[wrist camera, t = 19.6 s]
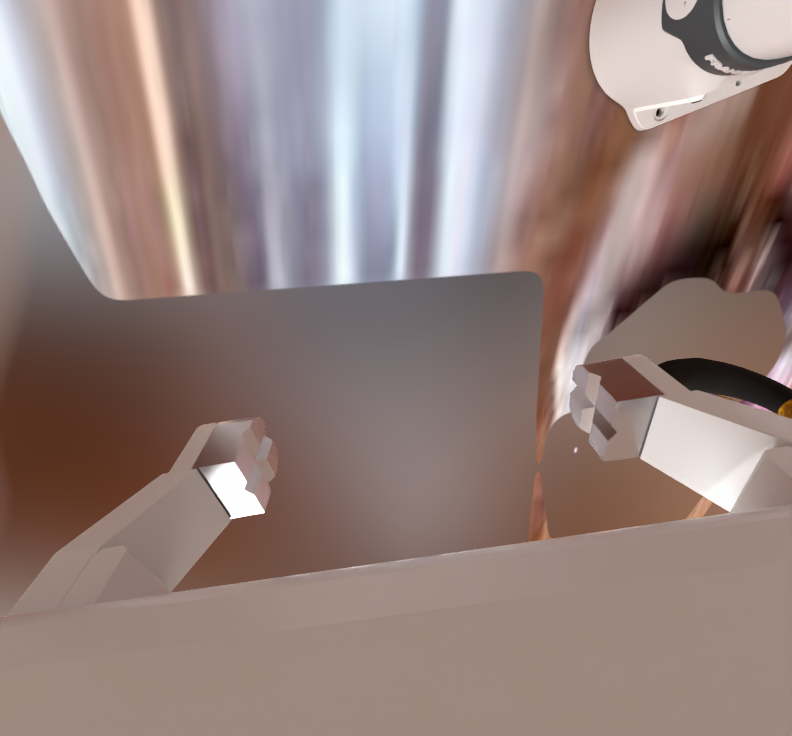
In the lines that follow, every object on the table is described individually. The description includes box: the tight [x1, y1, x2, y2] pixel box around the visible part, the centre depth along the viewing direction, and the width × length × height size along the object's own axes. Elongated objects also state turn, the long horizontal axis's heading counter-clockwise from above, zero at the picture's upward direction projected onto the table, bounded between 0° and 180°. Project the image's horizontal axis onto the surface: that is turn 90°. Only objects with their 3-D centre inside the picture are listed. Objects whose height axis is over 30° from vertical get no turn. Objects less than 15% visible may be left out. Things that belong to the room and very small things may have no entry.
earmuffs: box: [657, 358, 792, 419], centre depth 50 cm, size 28×9×20 cm, turn 84°
